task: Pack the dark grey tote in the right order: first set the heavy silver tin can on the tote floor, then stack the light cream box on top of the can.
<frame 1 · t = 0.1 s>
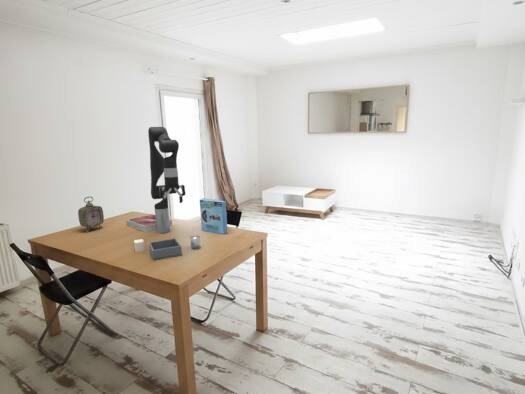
hand: (173, 203, 184), 29 cm above the table, fingers open, 8 cm apart
tabletop clock: (92, 230, 236), on the table
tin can: (195, 247, 196), on the table
cream box: (139, 249, 195), on the table
product packaging: (149, 226, 245), on the table
gum box: (214, 231, 227), on the table
tote: (165, 253, 188), on the table
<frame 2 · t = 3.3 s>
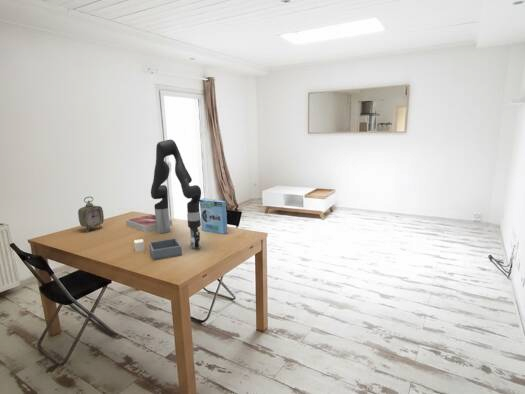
hand: (195, 245, 195), 2 cm above the table, fingers closed on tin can, 5 cm apart
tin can: (195, 247, 196), on the table, touching gripper
everything else where it was.
when the fingers open (4 cm above the table, at t = 10.8 s): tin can drops 1 cm, resting on tote.
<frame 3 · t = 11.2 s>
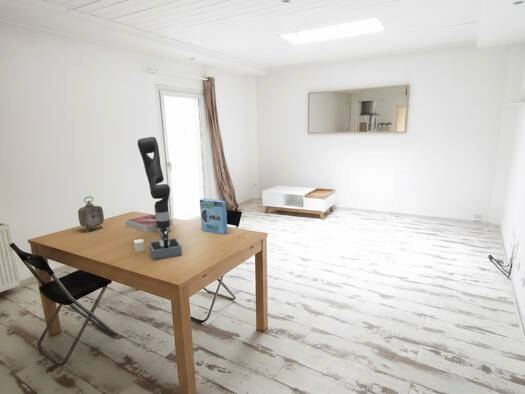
hand: (164, 245, 187), 5 cm above the table, fingers open, 8 cm apart
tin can: (165, 251, 188), point 1 cm above the table, touching tote
everything else where it was.
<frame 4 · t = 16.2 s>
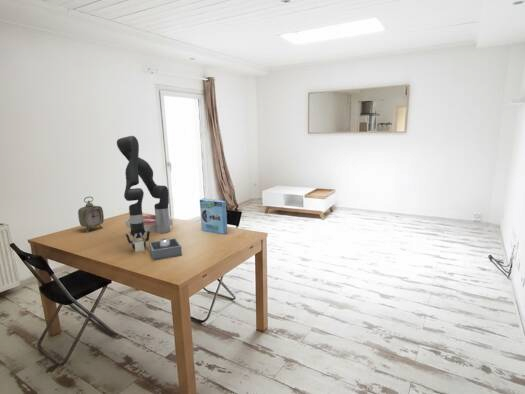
hand: (139, 248, 194), 1 cm above the table, fingers closed on cream box, 5 cm apart
cream box: (139, 249, 195), on the table, touching gripper
everything else where it was.
when the fingers open (10 cm above the table, at t = 22.6 s): cream box drops 1 cm, resting on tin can.
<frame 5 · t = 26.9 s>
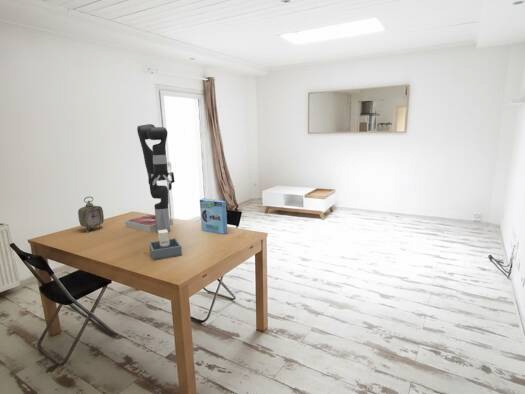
hand: (162, 190, 187), 36 cm above the table, fingers open, 8 cm apart
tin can: (165, 251, 188), point 1 cm above the table, touching cream box, tote
cream box: (163, 240, 186), point 8 cm above the table, touching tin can
at the end: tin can inside the target area on the tote (0.1 cm from its centre), point 1.0 cm above the tote's base; cream box inside the target area on the tote (0.4 cm from its centre), point 8.0 cm above the tote's base; cream box tilted 0° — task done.
